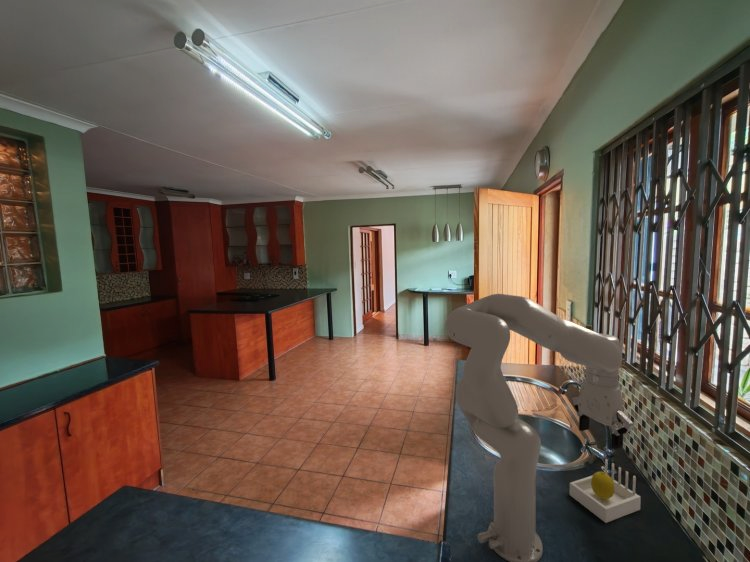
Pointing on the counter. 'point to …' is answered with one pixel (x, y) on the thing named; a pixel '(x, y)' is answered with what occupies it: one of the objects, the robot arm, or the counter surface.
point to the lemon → (602, 485)
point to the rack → (607, 508)
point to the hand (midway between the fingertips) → (599, 438)
